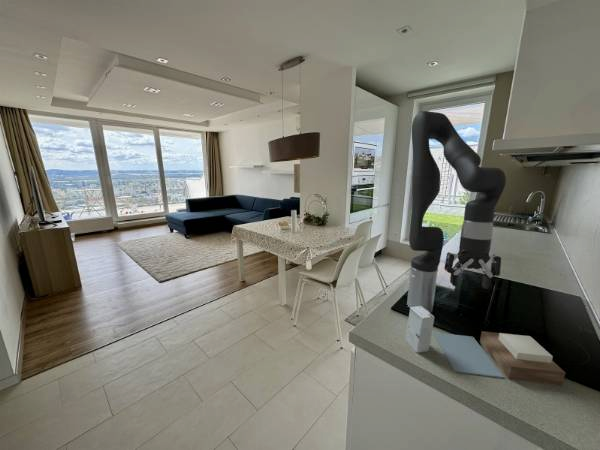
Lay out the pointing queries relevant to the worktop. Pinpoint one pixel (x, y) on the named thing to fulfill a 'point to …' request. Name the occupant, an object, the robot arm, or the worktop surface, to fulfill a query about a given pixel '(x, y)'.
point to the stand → (520, 363)
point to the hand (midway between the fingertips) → (469, 286)
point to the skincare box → (419, 329)
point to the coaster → (525, 348)
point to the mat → (467, 355)
